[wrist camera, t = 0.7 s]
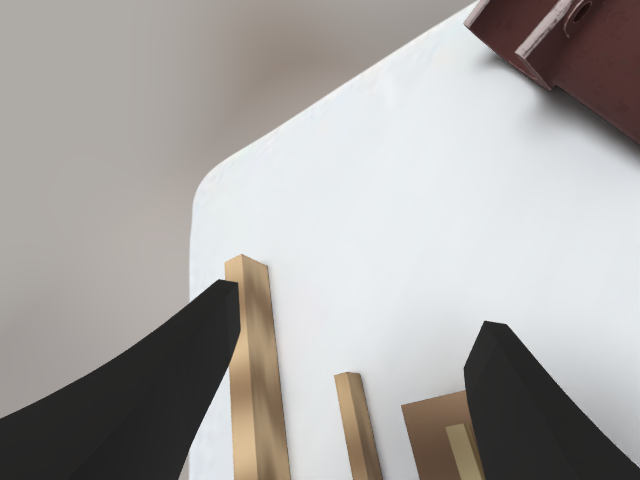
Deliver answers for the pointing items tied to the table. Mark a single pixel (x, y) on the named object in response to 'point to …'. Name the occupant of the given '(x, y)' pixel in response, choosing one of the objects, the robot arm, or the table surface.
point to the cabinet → (443, 438)
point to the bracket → (571, 50)
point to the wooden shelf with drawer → (279, 391)
